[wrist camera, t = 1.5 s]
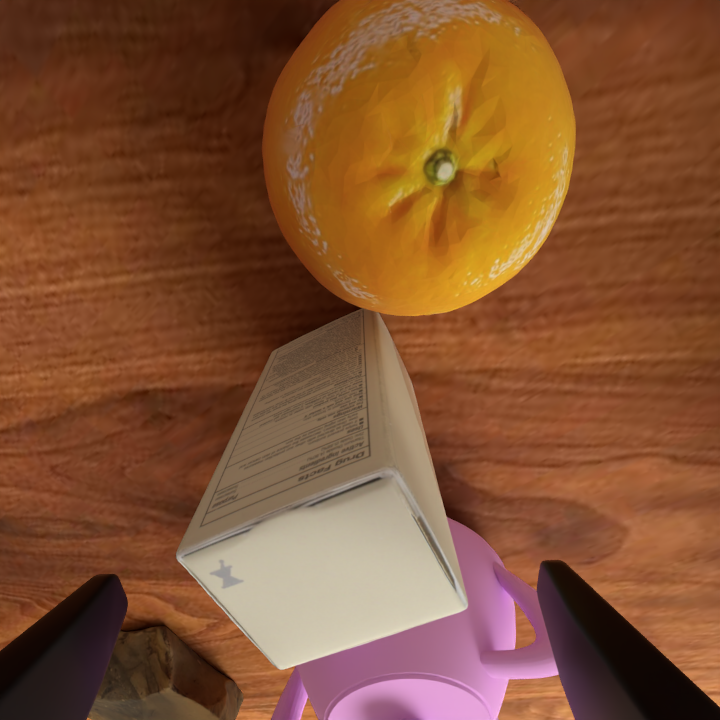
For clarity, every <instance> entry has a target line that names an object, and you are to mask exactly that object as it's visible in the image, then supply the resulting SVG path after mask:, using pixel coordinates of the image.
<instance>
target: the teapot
mask: <svg viewBox="0 0 720 720" xmlns="http://www.w3.org/2000/svg"><path fill="white" fill-rule="evenodd" d="M447 521H448V524H449V528H450V532H451V536H452V540H453V544H454V548H455V551H456V555H457V559H458V563H459V567H460V571H461V575H462V579H463V583H464V587H465V591H466V595H467V599H468V607H467V609H465V610H463V611H461V612H459V613H456V614H453V615H450V616H447V617H443V618H440V619H437V620H434V621H431V622H428V623H425V624H422V625H419V626H416V627H413V628H410V629H407V630H404V631H402V632H399V633H396V634H393V635H390V636H387V637H383V638H380V639H377V640H374V641H372V642H369V643H366V644H362V645H359V646H356V647H353V648H350V649H346V650H343V651H340V652H337V653H334V654H331V655H328V656H325V657H321V658H318V659H315V660H311V661H308V662H305V663H302V664H299V665H296V667H295V669H294V671H293V673H292V675H291V677H290V679H289V681H288V683H287V685H286V687H285V689H284V691H283V693H282V695H281V697H280V699H279V701H278V704H277V706H276V708H275V711H274V713H273V716H272V718H271V720H300V719H301V715H302V712H303V709H304V706H305V703H306V701H307V698H308V697H309V700H310V702H311V704H312V706H313V709H314V711H315V713H316V715H317V717H318V719H319V720H498V714H499V711H500V708H501V705H502V702H503V698H504V695H505V691H506V688H507V684H508V680H509V679H533V678H543V677H550V676H554V675H558V674H559V673H558V669H557V666H556V662H555V659H554V655H553V651H552V648H551V644H550V641H549V637H548V633H547V630H546V626H545V623H544V619H543V615H542V612H541V608H540V605H539V601H538V596H537V591H536V590H535V589H533V588H532V587H531V586H529V585H528V584H527V583H525V582H524V581H522V580H521V579H520V578H518V577H517V576H515V575H514V574H512V573H511V572H509V571H508V570H506V569H505V567H504V565H503V562H502V561H501V559H500V558H499V556H498V555H497V553H496V552H495V551H494V550H493V549H492V548H491V546H490V545H489V544H488V543H487V542H486V541H485V540H484V539H483V538H482V537H481V536H479V535H478V534H477V533H476V532H474V531H473V530H471V529H470V528H468V527H466V526H464V525H463V524H461V523H459V522H457V521H454V520H452V519H450V518H448V517H447ZM514 601H515V602H516V603H517V604H518V605H519V606H520V608H521V609H522V610H523V612H524V613H525V615H526V616H527V618H528V619H529V621H530V622H531V624H532V626H533V627H534V630H535V633H536V640H535V642H534V643H533V644H531V645H529V646H527V647H524V648H520V649H515V639H516V621H515V606H514Z"/></svg>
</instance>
